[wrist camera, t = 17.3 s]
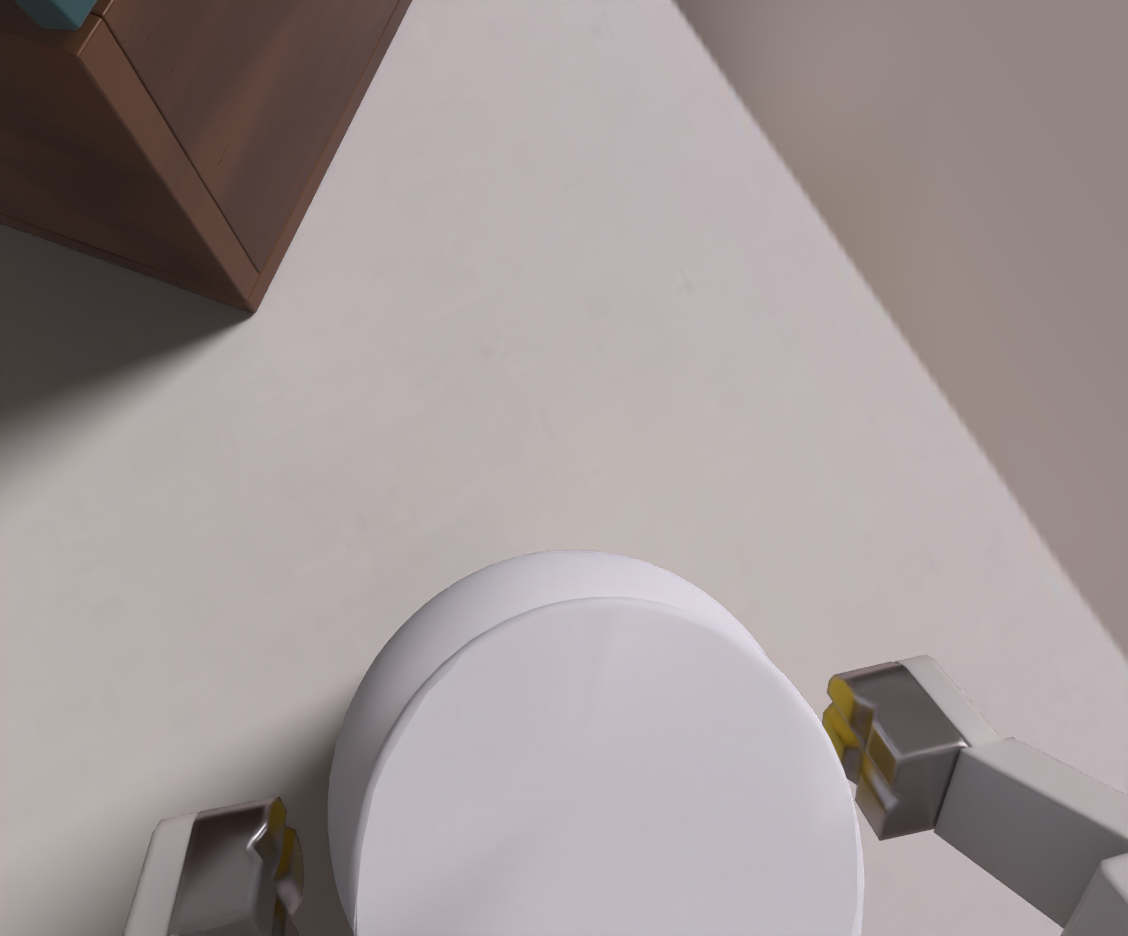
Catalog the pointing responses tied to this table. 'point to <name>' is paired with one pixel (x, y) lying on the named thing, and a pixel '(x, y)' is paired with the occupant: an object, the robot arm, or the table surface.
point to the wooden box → (182, 129)
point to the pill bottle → (587, 768)
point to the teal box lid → (58, 12)
